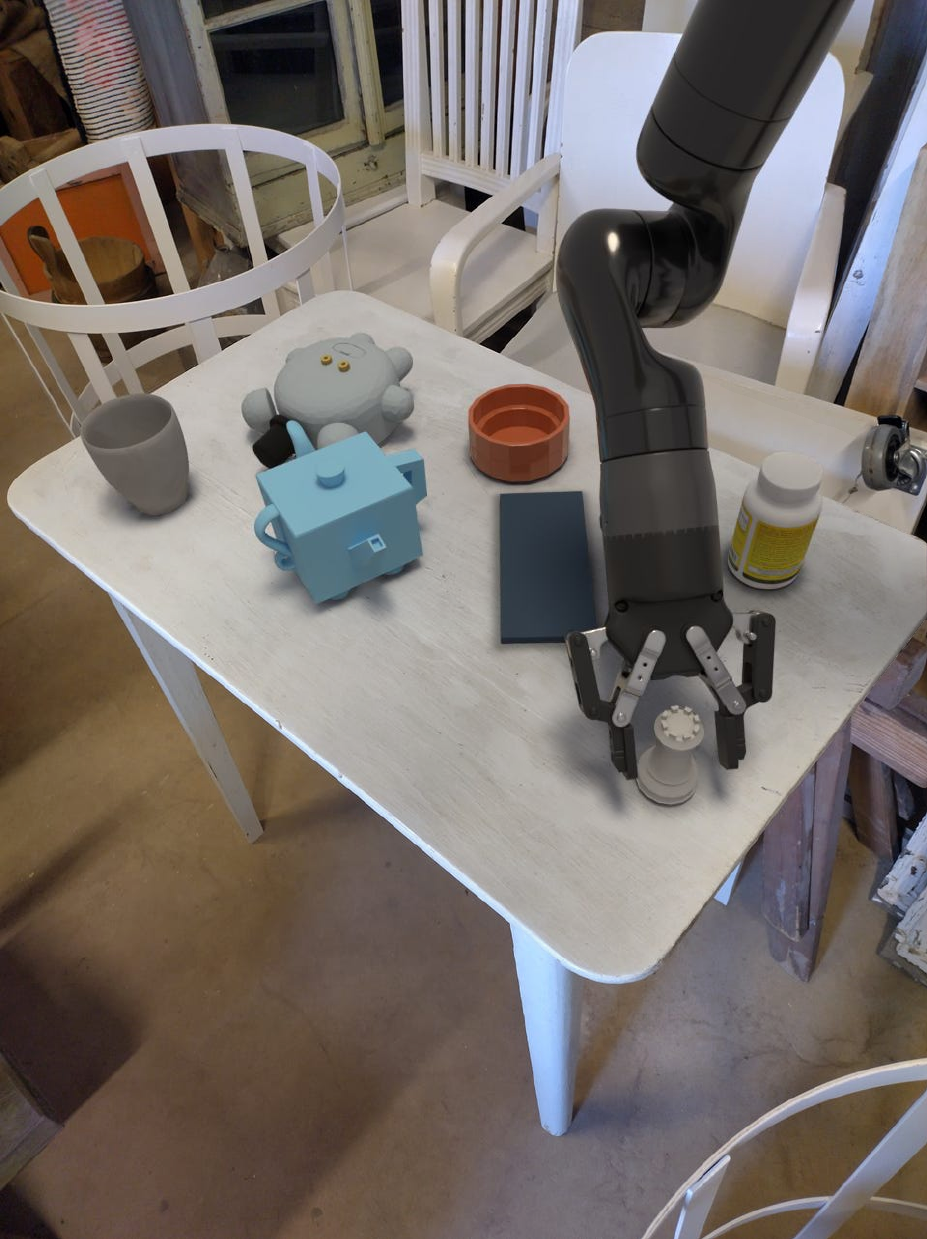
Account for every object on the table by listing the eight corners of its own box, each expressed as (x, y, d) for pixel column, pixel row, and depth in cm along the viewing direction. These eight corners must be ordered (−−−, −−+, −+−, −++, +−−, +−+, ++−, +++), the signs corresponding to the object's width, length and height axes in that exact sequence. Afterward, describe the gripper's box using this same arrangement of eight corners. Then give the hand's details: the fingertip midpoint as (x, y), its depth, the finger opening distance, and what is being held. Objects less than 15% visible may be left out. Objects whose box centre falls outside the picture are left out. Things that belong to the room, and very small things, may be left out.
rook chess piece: (659, 742, 62) (673, 681, 56) (709, 778, 60) (729, 719, 54) (622, 780, 60) (632, 722, 54) (672, 819, 58) (688, 763, 52)
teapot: (313, 654, 69) (281, 563, 61) (240, 531, 80) (205, 438, 71) (472, 579, 74) (464, 484, 65) (384, 471, 84) (367, 377, 76)
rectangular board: (500, 499, 80) (500, 493, 80) (581, 496, 80) (582, 490, 79) (501, 643, 69) (501, 637, 68) (596, 641, 68) (597, 635, 68)
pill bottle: (813, 570, 72) (851, 473, 63) (764, 603, 70) (796, 507, 61) (760, 531, 75) (789, 435, 67) (711, 561, 73) (734, 465, 65)
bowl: (564, 421, 88) (566, 381, 84) (570, 483, 81) (572, 443, 77) (471, 425, 88) (469, 385, 84) (470, 486, 82) (467, 447, 78)
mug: (222, 491, 84) (192, 414, 76) (151, 539, 80) (112, 462, 72) (155, 447, 89) (121, 370, 82) (86, 490, 85) (43, 413, 78)
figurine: (340, 356, 97) (222, 461, 90) (321, 293, 91) (191, 401, 83) (455, 402, 90) (338, 521, 82) (444, 337, 83) (314, 460, 75)
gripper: (558, 537, 50) (583, 800, 52) (790, 512, 50) (808, 776, 52) (544, 538, 58) (566, 768, 59) (746, 516, 58) (763, 747, 59)
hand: (679, 770), depth 56 cm, fingers open, 6 cm apart
